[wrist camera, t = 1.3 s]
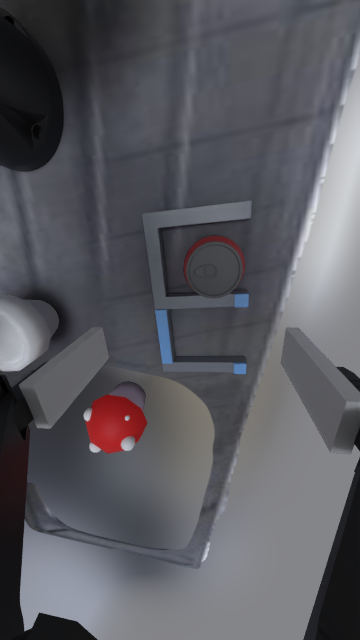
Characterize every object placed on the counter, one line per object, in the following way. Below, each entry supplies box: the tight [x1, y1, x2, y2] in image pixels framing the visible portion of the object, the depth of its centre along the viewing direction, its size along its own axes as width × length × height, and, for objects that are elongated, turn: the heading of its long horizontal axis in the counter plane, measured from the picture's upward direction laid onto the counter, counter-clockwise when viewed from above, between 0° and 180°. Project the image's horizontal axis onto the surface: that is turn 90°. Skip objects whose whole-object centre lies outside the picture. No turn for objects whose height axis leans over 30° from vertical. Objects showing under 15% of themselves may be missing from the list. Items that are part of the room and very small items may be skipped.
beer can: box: [184, 235, 245, 299], centre depth 26 cm, size 7×7×12 cm
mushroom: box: [84, 382, 147, 453], centre depth 38 cm, size 11×11×12 cm
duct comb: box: [142, 201, 251, 374], centre depth 33 cm, size 26×14×2 cm, turn 5°
